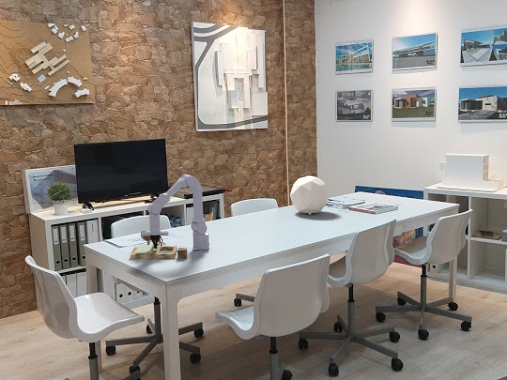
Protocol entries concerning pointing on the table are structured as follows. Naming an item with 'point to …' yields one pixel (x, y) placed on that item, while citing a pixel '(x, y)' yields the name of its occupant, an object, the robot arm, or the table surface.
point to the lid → (145, 249)
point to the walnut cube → (182, 253)
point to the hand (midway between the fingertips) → (155, 248)
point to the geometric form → (309, 194)
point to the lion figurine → (147, 238)
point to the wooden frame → (156, 253)
